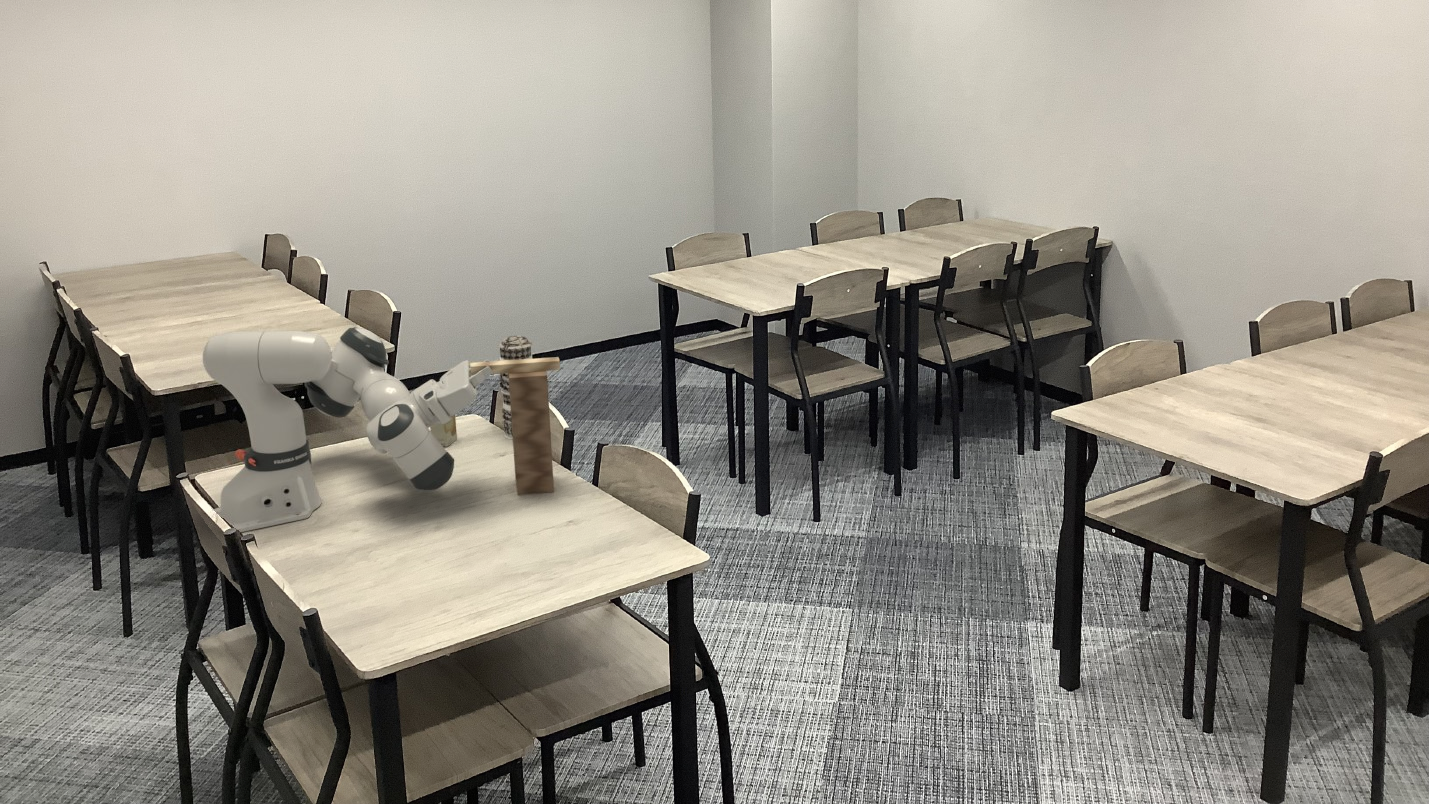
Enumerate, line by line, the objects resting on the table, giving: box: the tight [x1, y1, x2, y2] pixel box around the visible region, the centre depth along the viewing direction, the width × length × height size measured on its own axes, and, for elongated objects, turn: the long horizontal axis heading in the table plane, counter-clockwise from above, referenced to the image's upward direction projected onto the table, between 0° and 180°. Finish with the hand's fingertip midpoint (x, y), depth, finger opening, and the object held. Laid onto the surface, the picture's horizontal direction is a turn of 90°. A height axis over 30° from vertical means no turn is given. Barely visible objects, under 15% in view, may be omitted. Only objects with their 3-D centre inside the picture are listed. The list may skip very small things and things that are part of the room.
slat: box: [470, 356, 561, 376], centre depth 260 cm, size 19×3×2 cm, turn 101°
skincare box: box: [429, 414, 458, 448], centre depth 294 cm, size 6×4×12 cm
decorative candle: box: [498, 335, 533, 441], centre depth 297 cm, size 9×9×25 cm
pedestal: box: [508, 371, 555, 496], centre depth 265 cm, size 8×10×27 cm
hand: (490, 365), depth 259 cm, fingers closed on slat, 3 cm apart
